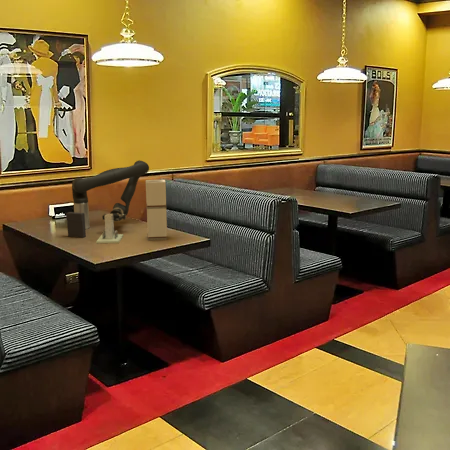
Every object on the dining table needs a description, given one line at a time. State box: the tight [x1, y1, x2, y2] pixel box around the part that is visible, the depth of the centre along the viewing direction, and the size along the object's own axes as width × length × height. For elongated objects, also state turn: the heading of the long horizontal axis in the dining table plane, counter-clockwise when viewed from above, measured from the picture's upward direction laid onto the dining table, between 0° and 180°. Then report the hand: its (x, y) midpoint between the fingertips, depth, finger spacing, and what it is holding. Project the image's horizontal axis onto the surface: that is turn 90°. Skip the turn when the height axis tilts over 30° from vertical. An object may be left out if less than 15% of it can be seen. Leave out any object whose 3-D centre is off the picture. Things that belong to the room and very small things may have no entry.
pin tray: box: [95, 229, 124, 244], centre depth 330 cm, size 13×18×5 cm
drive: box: [104, 213, 115, 239], centre depth 329 cm, size 4×6×14 cm, turn 1°
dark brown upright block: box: [65, 211, 87, 239], centre depth 338 cm, size 11×4×15 cm, turn 71°
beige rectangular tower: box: [145, 179, 168, 241], centre depth 331 cm, size 11×11×35 cm
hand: (112, 219), depth 340 cm, fingers open, 8 cm apart
